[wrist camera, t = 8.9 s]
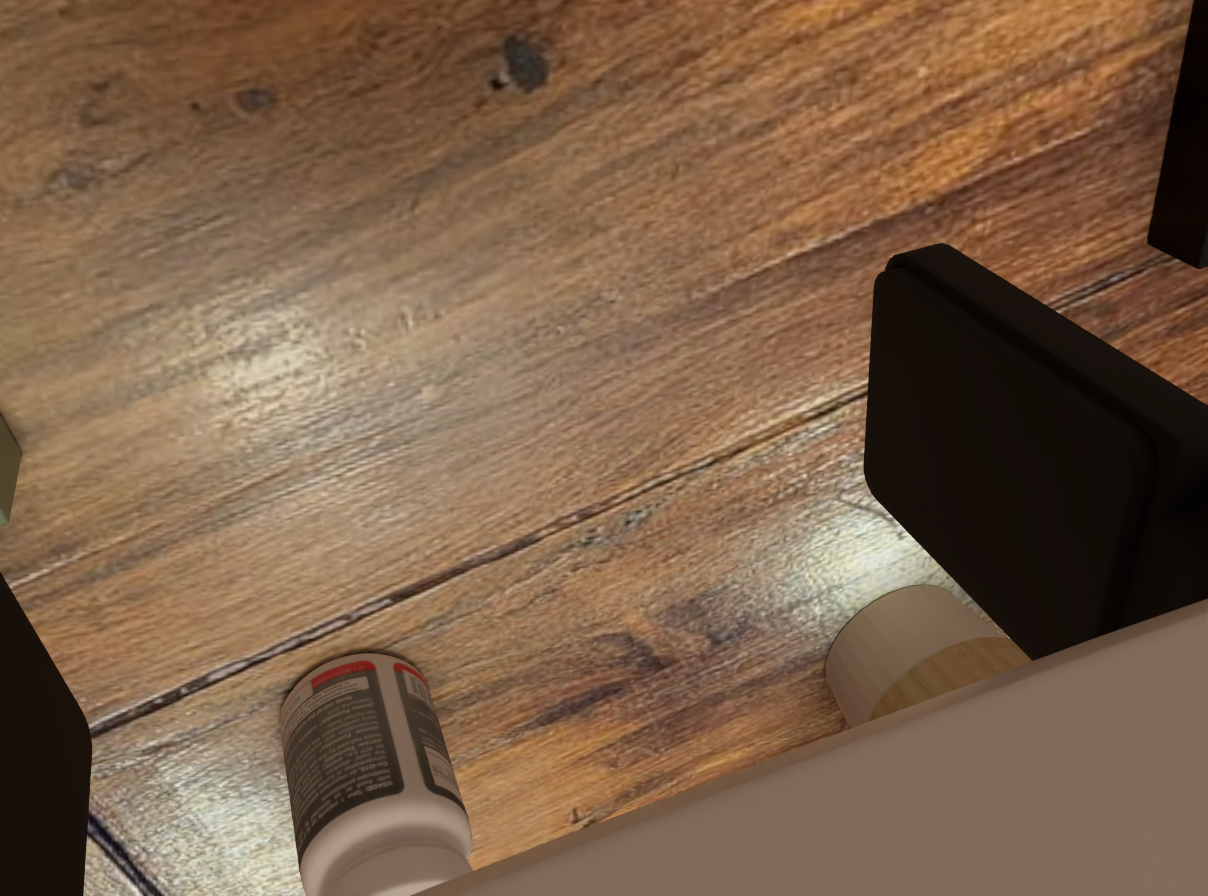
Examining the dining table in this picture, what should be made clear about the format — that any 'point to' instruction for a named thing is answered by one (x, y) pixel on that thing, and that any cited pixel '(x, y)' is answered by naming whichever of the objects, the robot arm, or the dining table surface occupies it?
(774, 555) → the dining table surface
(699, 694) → the dining table surface
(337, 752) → the pill bottle
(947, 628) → the coffee cup
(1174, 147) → the switch block
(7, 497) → the panel
